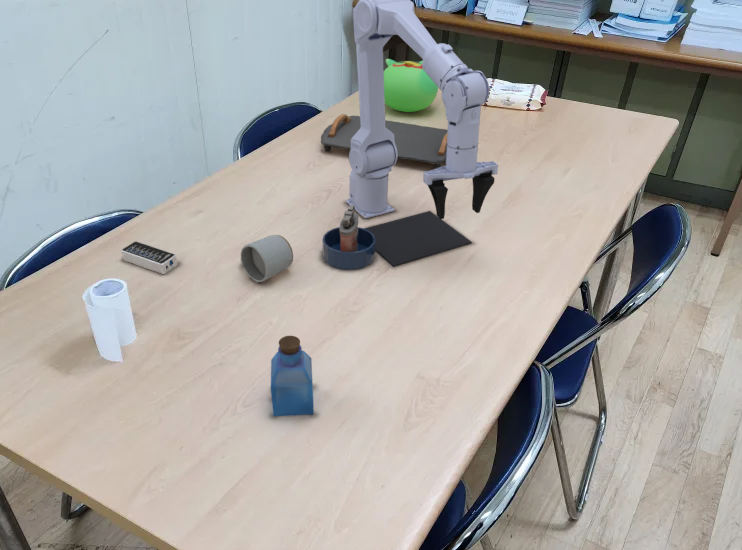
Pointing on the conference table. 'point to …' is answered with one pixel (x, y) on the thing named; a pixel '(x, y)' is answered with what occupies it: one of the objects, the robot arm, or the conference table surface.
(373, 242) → the blue round dish
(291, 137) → the conference table surface
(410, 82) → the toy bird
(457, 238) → the desk mat
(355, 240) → the lighter
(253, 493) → the conference table surface
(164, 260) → the multiport hub
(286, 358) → the perfume bottle
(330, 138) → the serving tray
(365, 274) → the conference table surface
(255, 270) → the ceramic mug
